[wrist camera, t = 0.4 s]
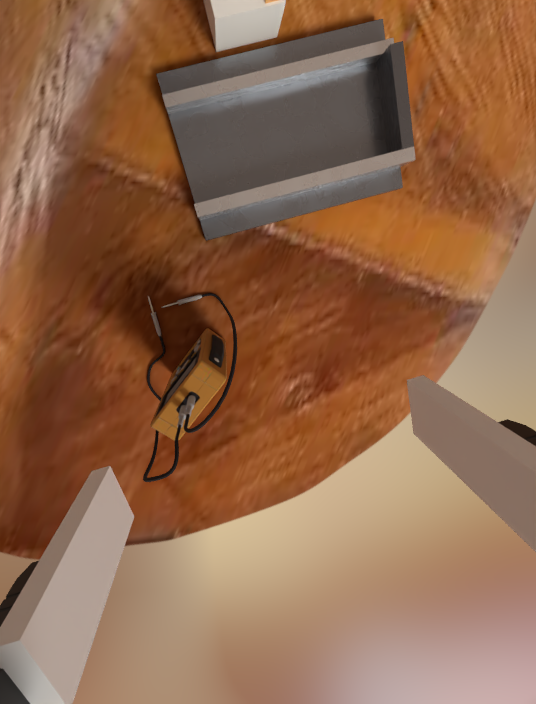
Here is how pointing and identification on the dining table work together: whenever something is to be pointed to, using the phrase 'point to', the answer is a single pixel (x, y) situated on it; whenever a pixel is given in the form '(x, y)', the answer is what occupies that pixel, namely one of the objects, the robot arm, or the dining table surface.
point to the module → (243, 21)
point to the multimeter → (190, 385)
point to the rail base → (291, 127)
